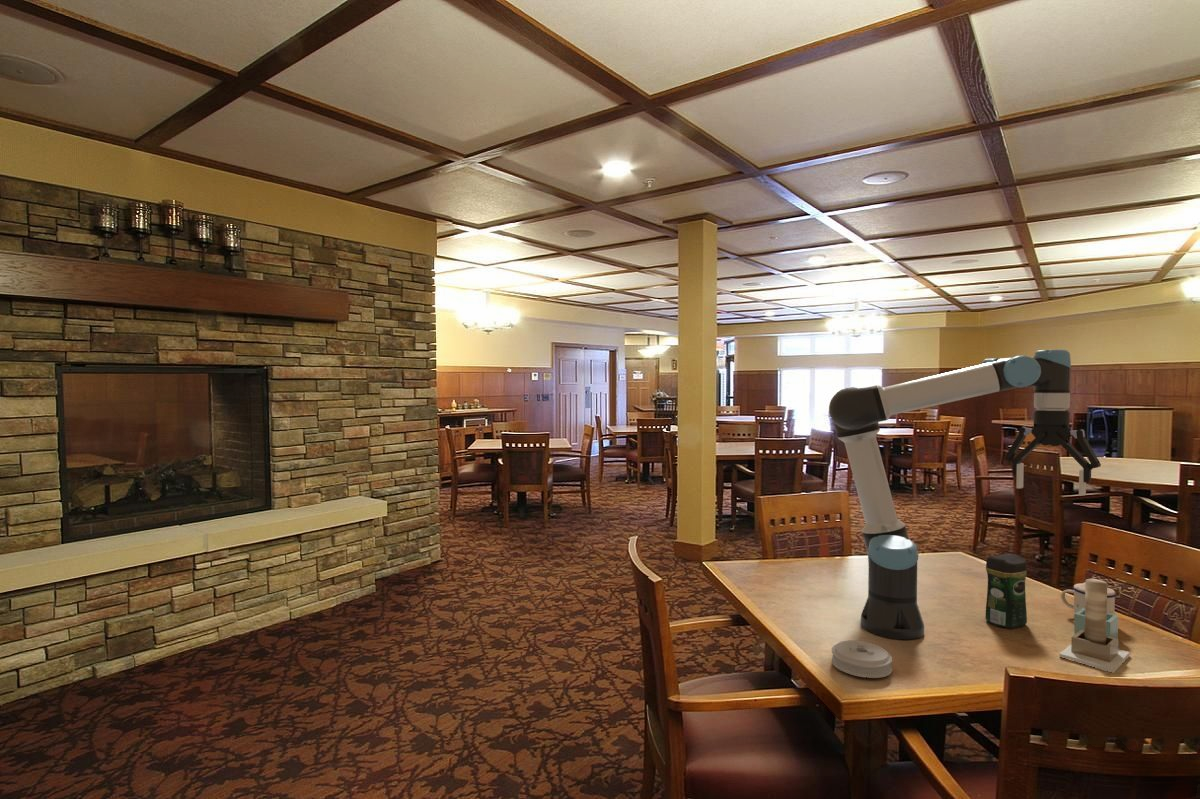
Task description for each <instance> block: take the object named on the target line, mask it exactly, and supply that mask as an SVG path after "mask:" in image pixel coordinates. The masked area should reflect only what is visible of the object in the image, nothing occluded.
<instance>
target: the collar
mask: <svg viewBox="0 0 1200 799" xmlns="http://www.w3.org/2000/svg"><path fill="white" fill-rule="evenodd" d="M1084 633H1085V631H1084V630H1080V631H1079V632H1077V633H1076V634H1075V635H1074V634H1073V635H1072V636H1071V644H1070V645H1071V652H1074V653H1078V654H1081V655H1085V656H1088V657H1092V658H1096V659H1099V660H1103V661H1106V662H1111V661H1112V660H1113V659H1114V658H1115V657H1116V656H1117V655H1118V649H1119V638H1118V639H1115V638H1111V637H1107V636H1106V645H1104V644H1100V643H1096V642H1092V641H1089V640H1085V639H1084Z"/></svg>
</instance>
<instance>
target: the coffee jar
mask: <svg viewBox="0 0 1200 799" xmlns="http://www.w3.org/2000/svg"><path fill="white" fill-rule="evenodd" d="M985 562H986V564H985V570H986V574H987V591H986V592H987V593H986V604H985V620H986V621H987V622H989V624H991V625H992V626H996V627H1001V628H1007V629H1015V628H1020V627H1023V626H1026V625H1027V623H1028V617H1027V615H1028V614H1027V601H1026V600H1027V597H1026V579H1027V578H1026V577H1027V574H1028V567H1027V566H1028V565H1027V561H1026V559H1025V558H1024V556H1021V555H1017V554H1013V553H1009V552H1008V553H1006V554H1000V555H989V556H988V557H986V559H985Z"/></svg>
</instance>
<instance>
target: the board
mask: <svg viewBox="0 0 1200 799" xmlns="http://www.w3.org/2000/svg"><path fill="white" fill-rule="evenodd" d="M1130 653H1131V652H1130V651H1126V650H1123V649H1119V648H1118V655H1117V656H1116V657H1115V658H1114V659H1113V660H1112V661H1111V662H1106V661H1103V660H1099V659H1096V658H1092V657H1088V656H1085V655H1081V654H1078V653H1074V652H1071V644H1069V645H1068V646H1067V647H1065V649H1063V650H1062V651H1060V653H1059V656H1060V657H1063V658H1067V659H1071V660H1074V661H1077V662H1081V663H1083V664H1087V665H1090V666H1092V667H1091V668H1093V667H1095V668H1094V669H1097V668H1099V669H1098V670H1100V669H1101V671H1104V672H1107V671H1108V672H1107V673H1110V672H1112V673H1111V674H1114V673H1115V672H1116V671H1117V670H1118V669H1119V668H1120V667H1121V666H1122V665H1123V664H1124V662H1126V661H1125V660H1126V659H1127V660H1128V659H1129V658H1130ZM1122 663H1123V664H1122ZM1083 664H1082V665H1083ZM1090 666H1089V667H1090Z"/></svg>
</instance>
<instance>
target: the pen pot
mask: <svg viewBox="0 0 1200 799" xmlns="http://www.w3.org/2000/svg"><path fill="white" fill-rule="evenodd" d="M1080 630H1084V631H1085V608H1082V609H1081V610H1079V611H1078V612H1077V613H1075V619H1074V630H1073V631H1074V633H1073V636H1074V635H1075V634H1076V633H1077V632H1079V631H1080ZM1106 636H1107V637H1111V638H1115V639H1119V615H1118V614H1115V613H1114V614H1109V613H1107V622H1106Z"/></svg>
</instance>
